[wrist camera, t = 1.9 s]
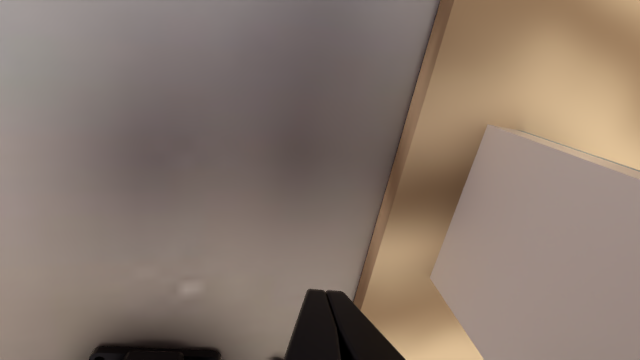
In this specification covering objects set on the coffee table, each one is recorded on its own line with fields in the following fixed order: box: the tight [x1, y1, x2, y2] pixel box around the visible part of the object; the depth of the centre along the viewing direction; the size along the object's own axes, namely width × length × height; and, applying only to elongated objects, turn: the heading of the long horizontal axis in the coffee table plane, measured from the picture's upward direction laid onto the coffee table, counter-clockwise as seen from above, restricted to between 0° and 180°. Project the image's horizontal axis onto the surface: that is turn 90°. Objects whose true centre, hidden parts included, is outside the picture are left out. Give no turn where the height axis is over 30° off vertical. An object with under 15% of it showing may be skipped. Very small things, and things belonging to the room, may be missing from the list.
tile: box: [430, 124, 640, 360], centre depth 11 cm, size 8×2×9 cm, turn 169°
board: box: [353, 0, 640, 360], centre depth 17 cm, size 20×16×1 cm
